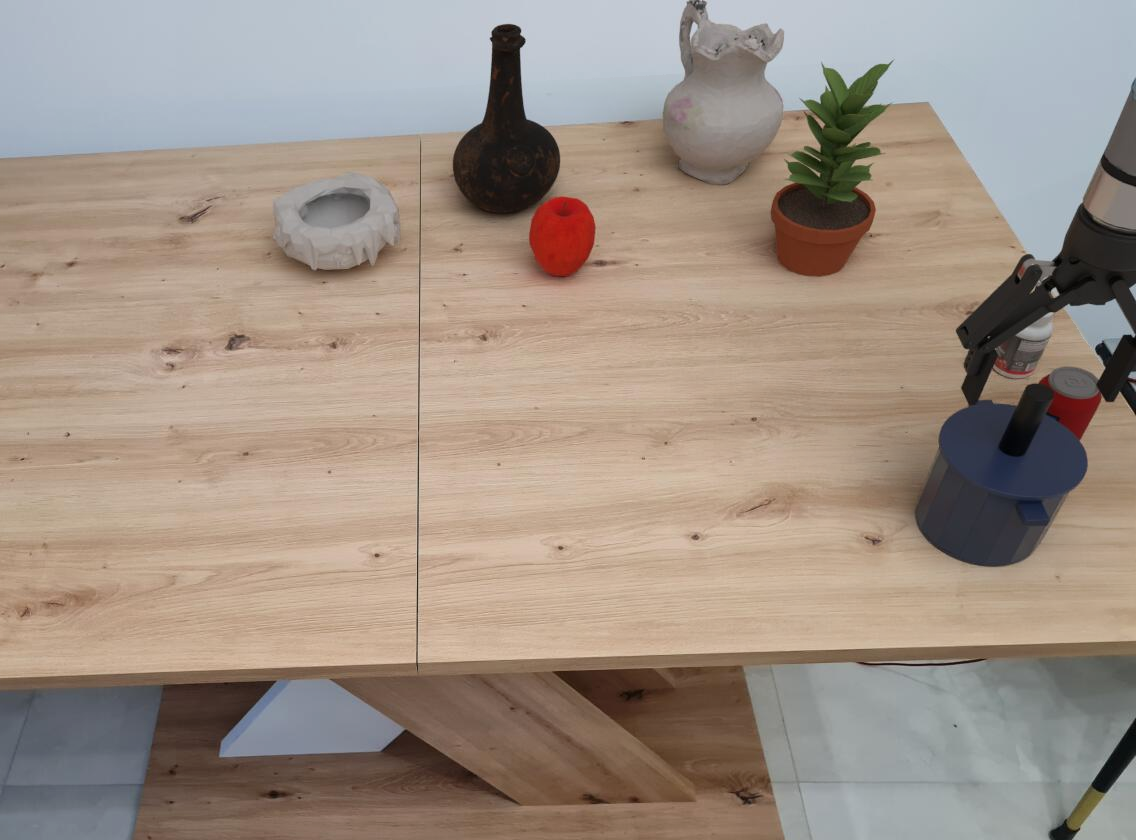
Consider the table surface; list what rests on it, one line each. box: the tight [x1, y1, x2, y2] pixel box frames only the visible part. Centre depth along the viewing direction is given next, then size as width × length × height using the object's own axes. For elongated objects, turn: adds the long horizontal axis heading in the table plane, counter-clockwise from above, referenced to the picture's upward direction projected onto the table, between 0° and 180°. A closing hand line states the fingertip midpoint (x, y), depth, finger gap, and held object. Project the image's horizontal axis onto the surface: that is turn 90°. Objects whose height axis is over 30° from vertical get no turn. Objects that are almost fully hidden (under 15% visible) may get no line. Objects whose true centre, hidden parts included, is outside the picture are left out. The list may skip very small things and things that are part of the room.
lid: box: [937, 382, 1089, 501], centre depth 112 cm, size 15×15×9 cm
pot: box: [914, 399, 1070, 568], centre depth 119 cm, size 14×19×12 cm
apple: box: [528, 196, 597, 277], centre depth 158 cm, size 10×10×12 cm
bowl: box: [272, 171, 401, 271], centre depth 167 cm, size 21×20×10 cm
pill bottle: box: [992, 312, 1055, 379], centre depth 137 cm, size 5×5×10 cm
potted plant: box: [770, 59, 895, 277], centre depth 149 cm, size 15×15×30 cm
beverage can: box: [1038, 366, 1102, 442], centre depth 125 cm, size 7×7×12 cm
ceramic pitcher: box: [662, 0, 785, 186], centre depth 172 cm, size 22×20×25 cm
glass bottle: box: [452, 23, 561, 214], centre depth 168 cm, size 18×18×28 cm
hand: (1036, 395), depth 109 cm, fingers open, 13 cm apart
